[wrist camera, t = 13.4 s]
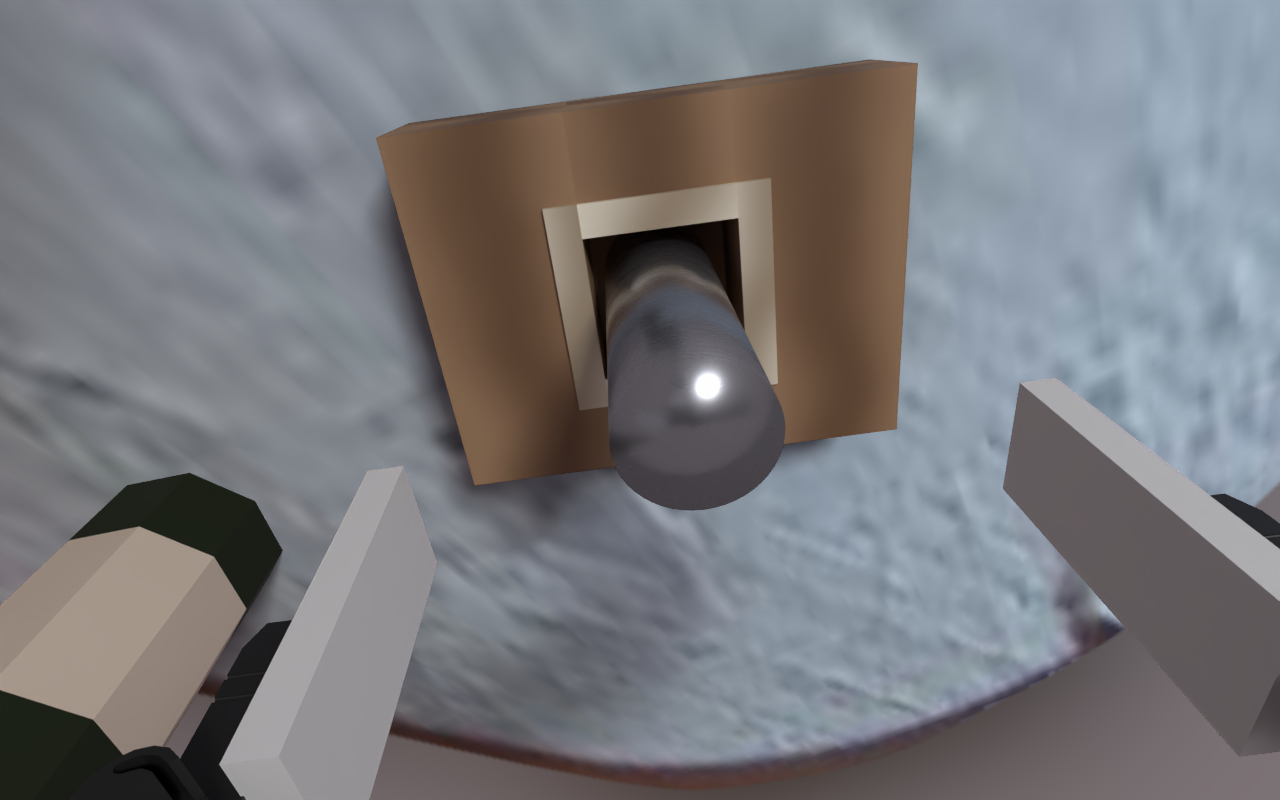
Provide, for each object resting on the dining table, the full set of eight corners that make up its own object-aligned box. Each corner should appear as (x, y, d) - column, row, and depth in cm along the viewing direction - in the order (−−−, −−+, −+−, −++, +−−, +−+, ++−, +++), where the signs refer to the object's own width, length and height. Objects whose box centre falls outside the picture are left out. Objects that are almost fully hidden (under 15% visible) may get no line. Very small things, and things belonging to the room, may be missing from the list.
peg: (612, 324, 31) (622, 520, 18) (597, 226, 29) (596, 371, 16) (711, 311, 31) (787, 498, 18) (703, 211, 29) (783, 346, 16)
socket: (489, 431, 33) (473, 487, 29) (409, 123, 27) (374, 138, 23) (860, 382, 33) (898, 431, 29) (869, 59, 27) (920, 63, 23)
